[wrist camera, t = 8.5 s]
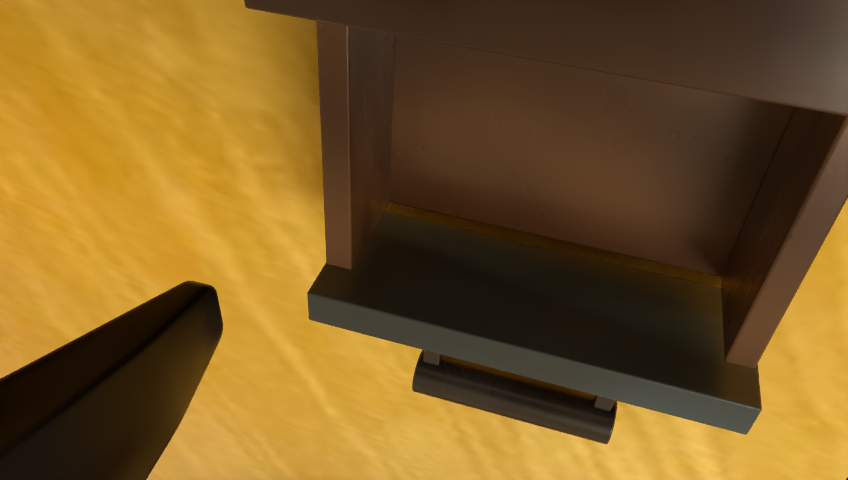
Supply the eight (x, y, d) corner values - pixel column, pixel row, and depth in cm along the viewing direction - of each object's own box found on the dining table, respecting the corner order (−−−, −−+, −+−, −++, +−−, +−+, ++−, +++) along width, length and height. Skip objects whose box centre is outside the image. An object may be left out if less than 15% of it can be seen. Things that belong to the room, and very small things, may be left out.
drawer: (696, 407, 26) (697, 520, 23) (360, 319, 29) (314, 410, 25) (934, -77, 15) (1005, -2, 12) (361, -152, 18) (279, -108, 14)
